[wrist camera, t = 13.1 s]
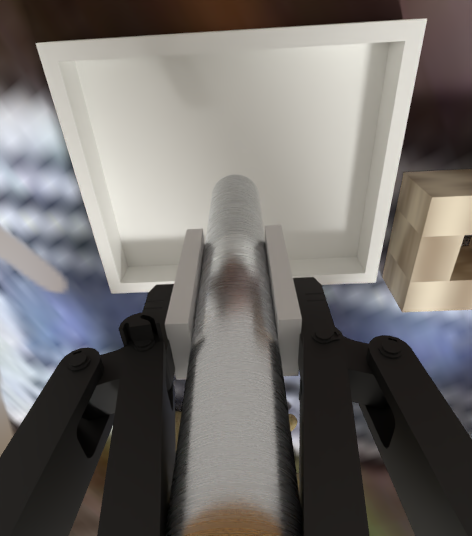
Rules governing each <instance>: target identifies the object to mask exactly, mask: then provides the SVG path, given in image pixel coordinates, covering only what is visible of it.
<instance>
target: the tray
mask: <svg viewBox="0 0 472 536" xmlns="http://www.w3.org/2000/svg"><path fill="white" fill-rule="evenodd" d="M426 22H427V19H399V20H383V21H368V22H352V23H336V24H320V25H304V26H288V27H272V28H256V29H240V30H224V31H208V32H192V33H176V34H160V35H144V36H128V37H112V38H96V39H80V40H64V41H52V42H42V43H36V46H37V50H38V53H39V56H40V59H41V63H42V66H43V69H44V73H45V76H46V79H47V83H48V86H49V89H50V92H51V96H52V99H53V102H54V106H55V109H56V112H57V116H58V119H59V122H60V125H61V129H62V132H63V135H64V139H65V142H66V145H67V149H68V152H69V155H70V158H71V162H72V165H73V168H74V172H75V175H76V178H77V182H78V185H79V188H80V191H81V195H82V198H83V201H84V205H85V208H86V211H87V215H88V218H89V221H90V224H91V228H92V231H93V234H94V238H95V241H96V244H97V248H98V251H99V254H100V257H101V261H102V264H103V267H104V271H105V274H106V277H107V281H108V284H109V287H110V290H111V294H113V293H137V292H150V290H151V289H152V288H153V287H154V286H155V285H158V284H174V282H175V278H176V273H177V269H178V265H179V261H180V256H181V252H182V248H183V244H184V239H185V235H186V231H187V229H203V235H204V243H205V240H206V233H207V225H208V218H209V211H210V204H211V197H212V191H213V188H214V186H215V185H216V183H217V182H218V181H219V180H221V179H222V178H224V177H226V176H229V175H242V176H245V177H247V178H249V179H250V180H251V181H252V182H253V183H254V184H255V185H256V187H257V189H258V192H259V199H260V206H261V213H262V221H263V228H264V236H265V226H268V225H281V227H282V232H283V236H284V241H285V245H286V250H287V254H288V259H289V263H290V268H291V272H292V277H293V278H302V277H314V278H315V279H316V280H317V281H318V282H319V283H320V284H321V285H331V284H355V283H376V278H377V273H378V268H379V263H380V258H381V253H382V248H383V242H384V237H385V232H386V227H387V222H388V217H389V212H390V207H391V201H392V196H393V191H394V186H395V181H396V176H397V171H398V166H399V161H400V155H401V150H402V145H403V140H404V135H405V130H406V125H407V120H408V114H409V109H410V104H411V99H412V94H413V89H414V84H415V79H416V73H417V68H418V63H419V58H420V53H421V48H422V43H423V38H424V32H425V27H426Z"/></svg>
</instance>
